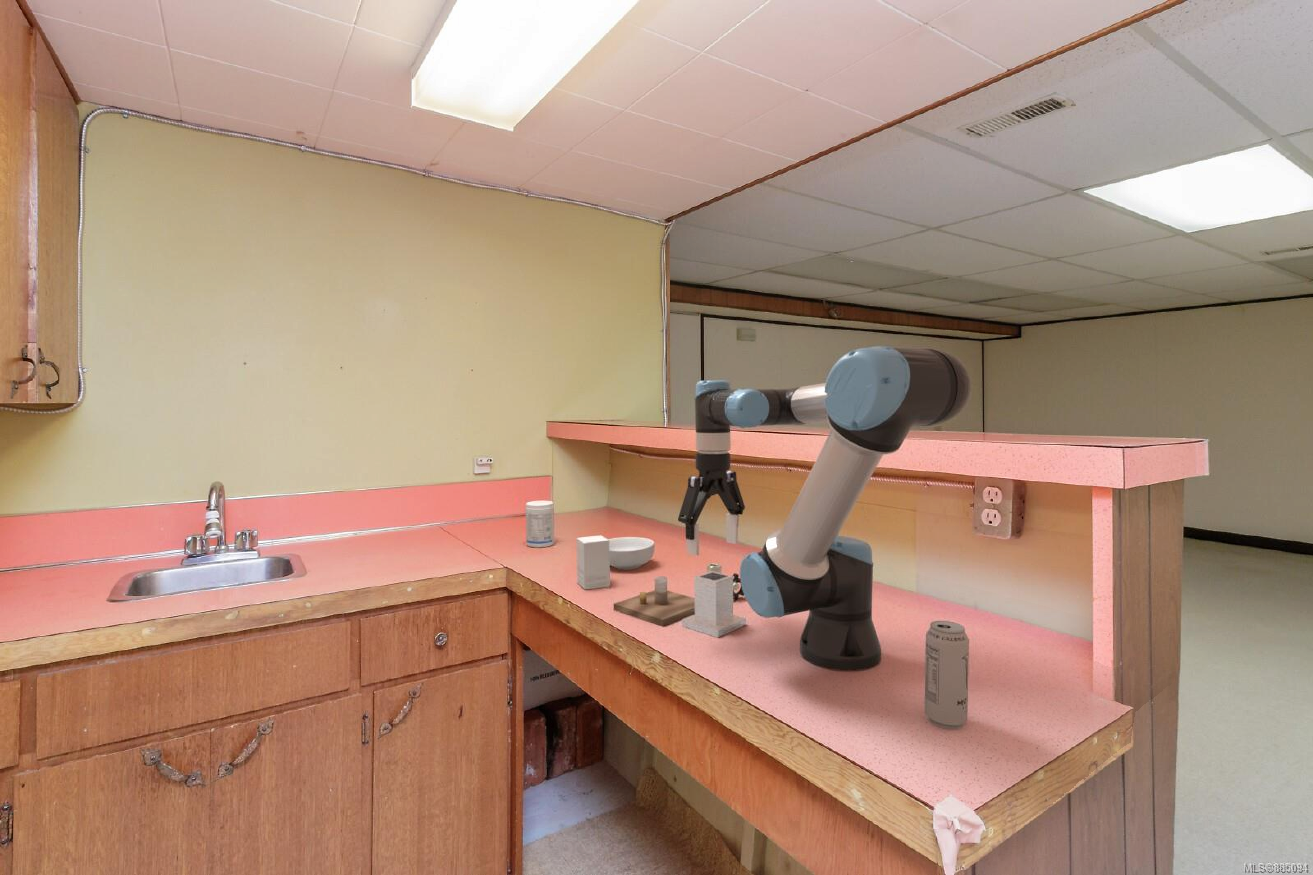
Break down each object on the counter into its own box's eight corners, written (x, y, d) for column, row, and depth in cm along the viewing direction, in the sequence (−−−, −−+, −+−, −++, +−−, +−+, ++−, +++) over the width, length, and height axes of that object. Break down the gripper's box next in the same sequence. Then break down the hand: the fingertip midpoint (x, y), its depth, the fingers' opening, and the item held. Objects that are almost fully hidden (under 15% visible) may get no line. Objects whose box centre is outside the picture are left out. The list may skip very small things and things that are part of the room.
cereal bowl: (602, 558, 198) (602, 536, 197) (655, 558, 197) (655, 536, 197) (595, 574, 181) (594, 549, 180) (653, 574, 180) (653, 549, 180)
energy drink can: (969, 734, 94) (971, 635, 93) (924, 727, 96) (926, 630, 95) (965, 715, 99) (967, 622, 98) (923, 708, 101) (925, 617, 100)
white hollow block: (745, 624, 139) (745, 575, 139) (717, 637, 132) (717, 586, 131) (710, 614, 146) (710, 567, 146) (681, 626, 139) (681, 576, 138)
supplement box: (610, 587, 168) (610, 540, 168) (583, 590, 166) (583, 542, 165) (602, 579, 175) (602, 534, 174) (576, 582, 172) (575, 537, 172)
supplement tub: (531, 541, 222) (530, 500, 222) (557, 541, 222) (556, 500, 221) (522, 548, 213) (521, 505, 212) (550, 548, 212) (549, 505, 211)
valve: (699, 589, 165) (726, 602, 155) (699, 565, 165) (726, 576, 154) (720, 585, 169) (747, 598, 158) (720, 561, 168) (747, 572, 158)
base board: (708, 608, 151) (708, 577, 150) (662, 626, 139) (662, 592, 139) (660, 594, 162) (659, 565, 161) (613, 609, 150) (613, 578, 150)
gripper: (733, 446, 148) (733, 536, 150) (660, 455, 130) (661, 556, 132) (760, 448, 143) (760, 541, 145) (688, 457, 125) (688, 562, 127)
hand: (713, 548), depth 138 cm, fingers open, 13 cm apart
